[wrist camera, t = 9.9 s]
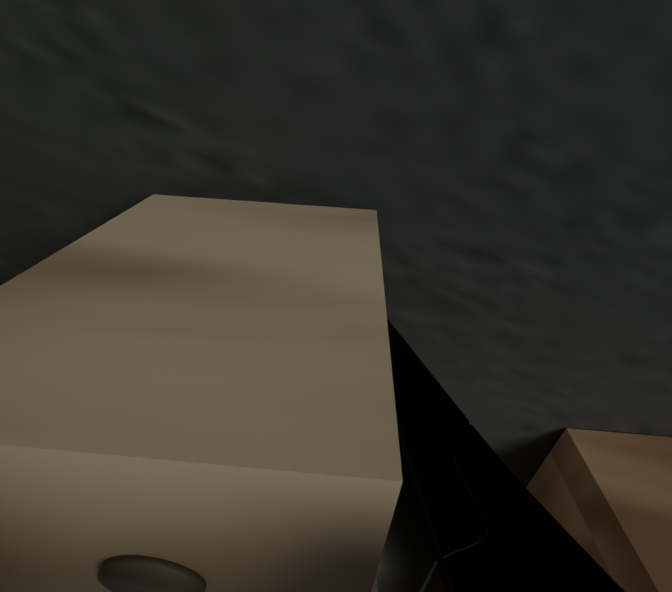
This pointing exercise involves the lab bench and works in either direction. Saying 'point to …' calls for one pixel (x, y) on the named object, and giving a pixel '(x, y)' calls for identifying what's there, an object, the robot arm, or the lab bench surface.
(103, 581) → the maple block
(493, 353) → the lab bench surface
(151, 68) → the lab bench surface
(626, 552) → the bored oak block
